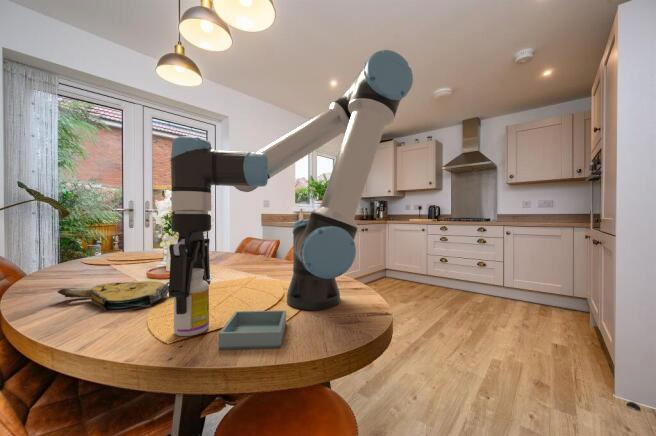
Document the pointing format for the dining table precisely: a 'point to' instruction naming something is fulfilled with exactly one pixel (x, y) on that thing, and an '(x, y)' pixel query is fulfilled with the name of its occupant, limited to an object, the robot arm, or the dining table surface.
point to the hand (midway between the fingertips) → (191, 321)
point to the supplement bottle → (196, 305)
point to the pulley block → (121, 294)
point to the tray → (253, 330)
